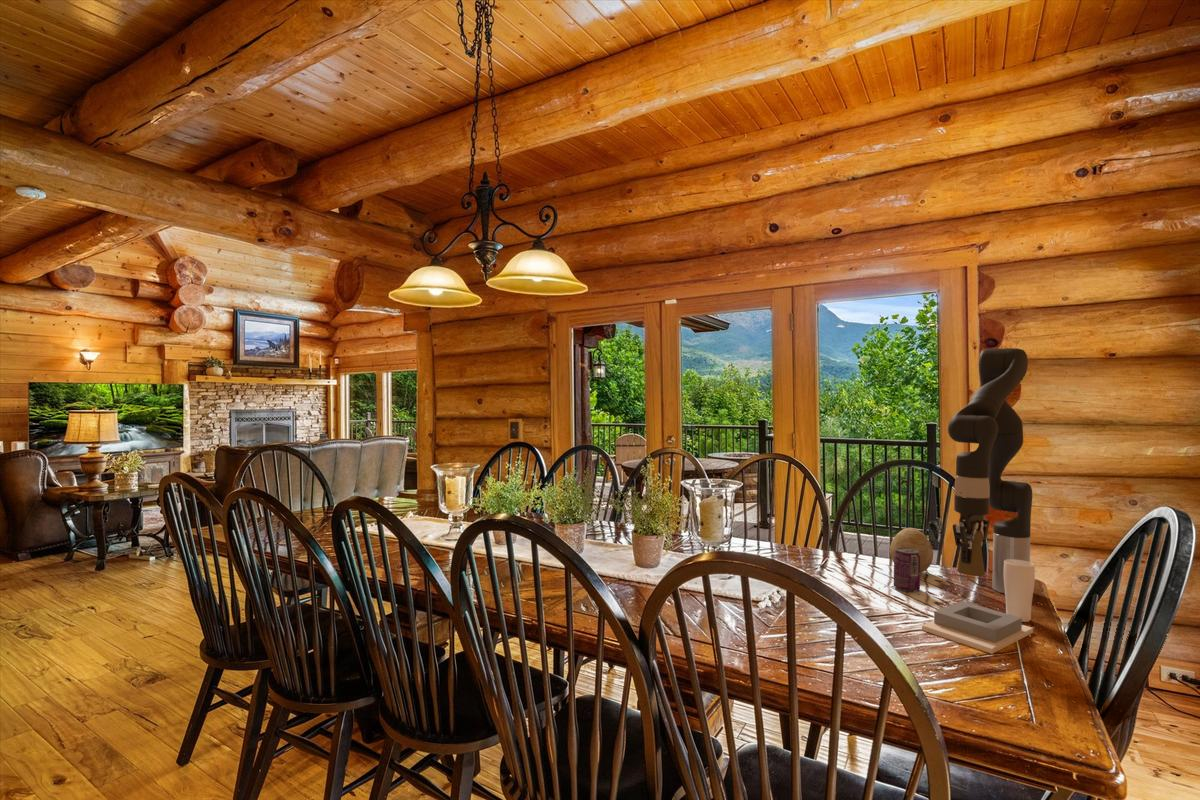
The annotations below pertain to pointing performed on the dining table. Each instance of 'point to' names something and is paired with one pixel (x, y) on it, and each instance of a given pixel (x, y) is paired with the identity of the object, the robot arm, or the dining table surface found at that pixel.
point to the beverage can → (907, 569)
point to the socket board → (974, 639)
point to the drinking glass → (1019, 588)
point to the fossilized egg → (914, 546)
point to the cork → (973, 558)
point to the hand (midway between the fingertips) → (970, 561)
